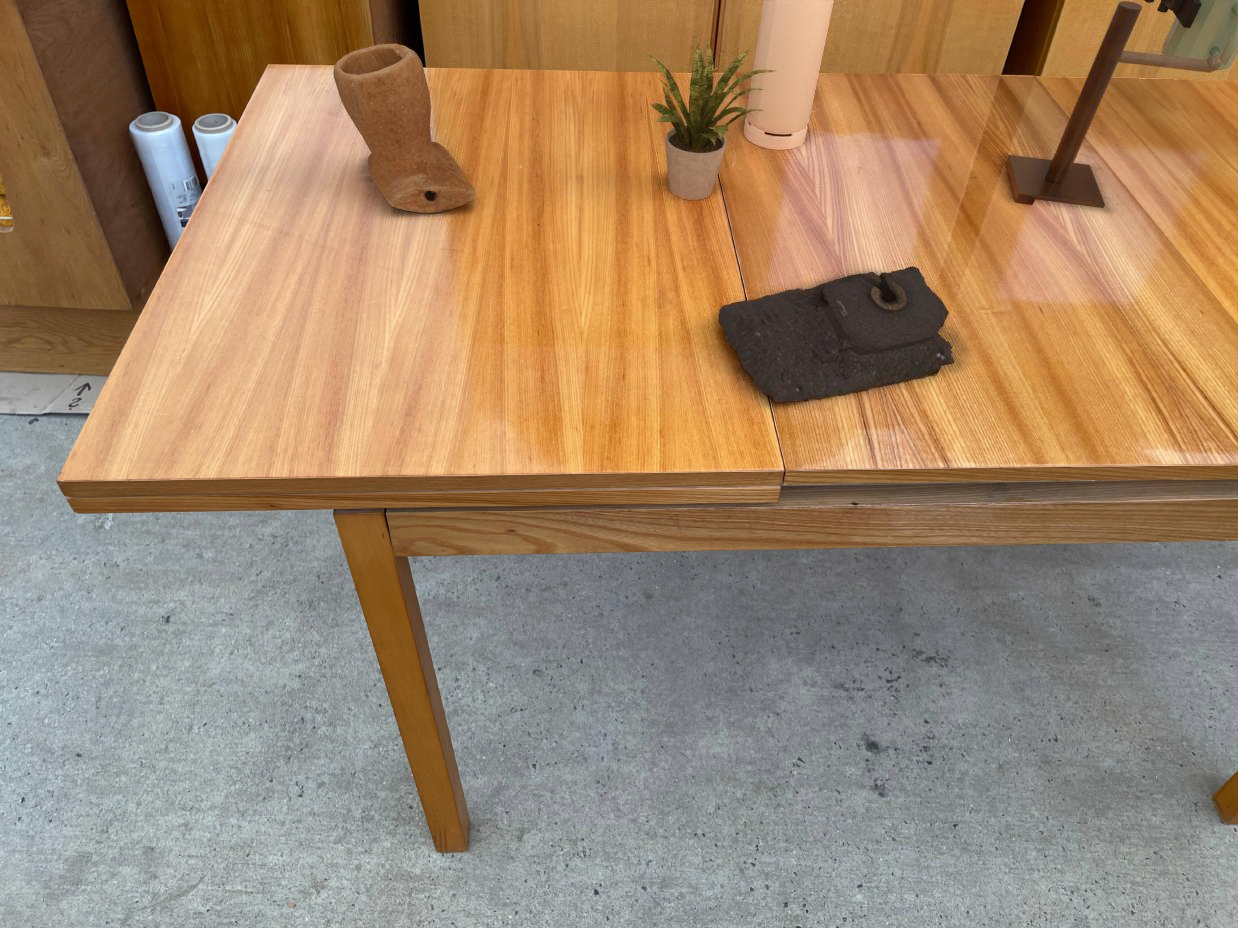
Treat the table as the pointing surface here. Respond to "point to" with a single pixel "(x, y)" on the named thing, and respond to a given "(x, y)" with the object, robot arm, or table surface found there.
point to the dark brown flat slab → (840, 335)
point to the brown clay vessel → (399, 129)
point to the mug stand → (1089, 120)
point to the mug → (1207, 34)
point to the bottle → (786, 71)
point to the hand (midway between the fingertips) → (1232, 20)
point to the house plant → (699, 125)
